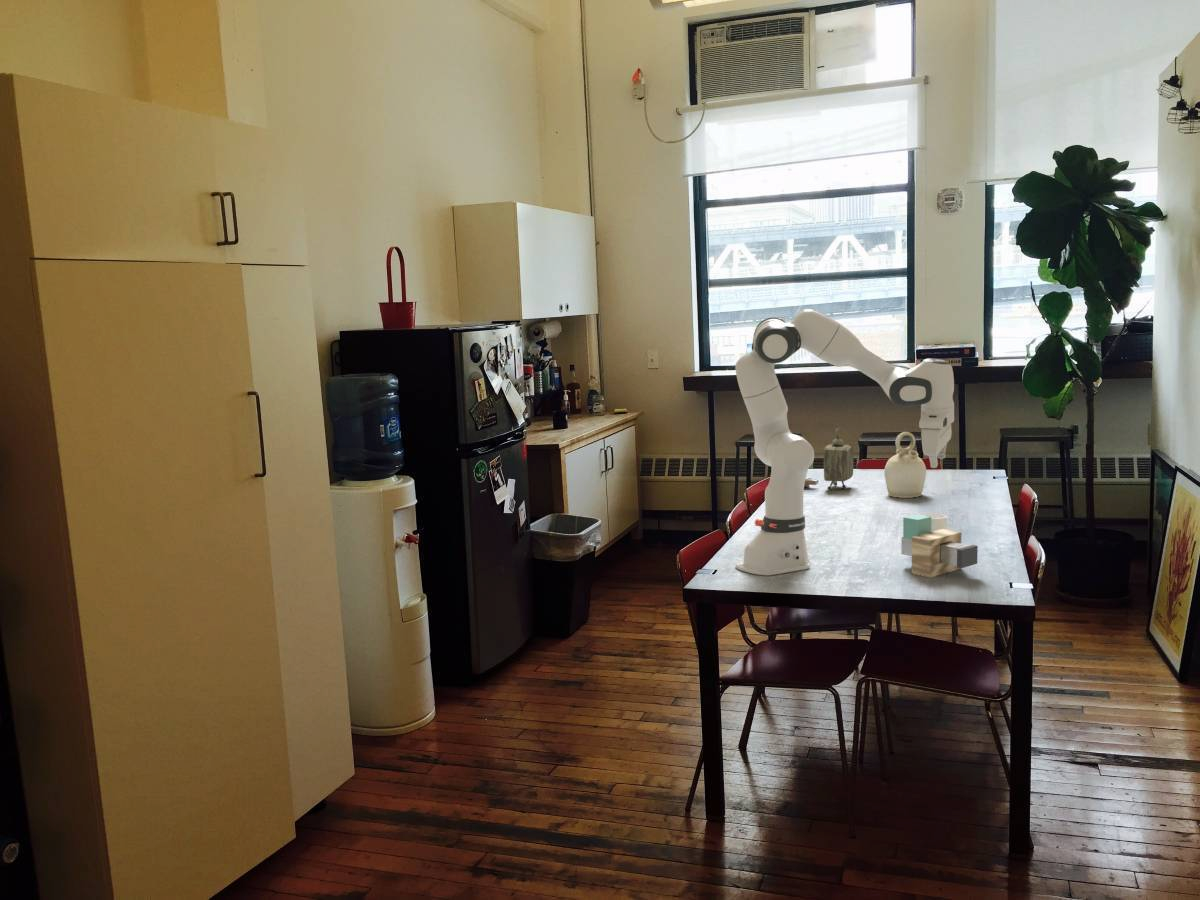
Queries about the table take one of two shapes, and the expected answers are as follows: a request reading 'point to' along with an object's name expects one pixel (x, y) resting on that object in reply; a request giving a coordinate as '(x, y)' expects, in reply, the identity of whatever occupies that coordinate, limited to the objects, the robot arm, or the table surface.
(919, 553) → the bearing block
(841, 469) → the tabletop clock
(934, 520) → the mug
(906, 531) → the block
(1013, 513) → the table surface
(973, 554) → the shaft
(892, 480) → the jug
